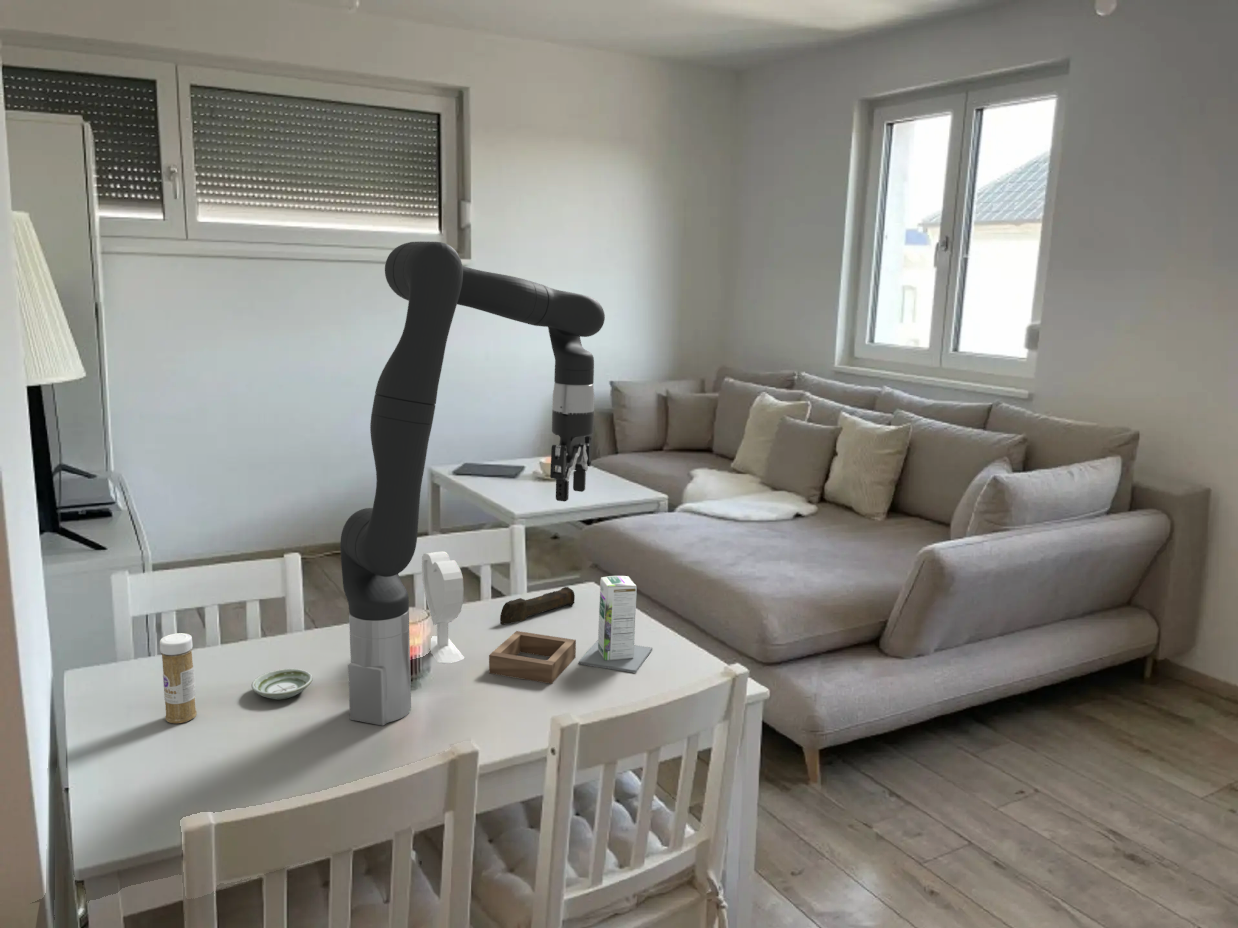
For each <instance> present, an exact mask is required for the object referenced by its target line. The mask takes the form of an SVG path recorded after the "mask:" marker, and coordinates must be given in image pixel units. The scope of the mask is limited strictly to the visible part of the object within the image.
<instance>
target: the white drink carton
mask: <svg viewBox="0 0 1238 928" xmlns="http://www.w3.org/2000/svg"><path fill="white" fill-rule="evenodd" d="M636 607H637V585H636V584H635V583H634V580H632V579H631V578H630V576H629V575H627V576H626V575H609V576H603V577H602V576H601V577H600V587H599V606H598V609H599V611H598V637H597V640H598V650H599V652H600V653H601V655H602V657H603V658H604V660H605V661H610V660H620V659H629V658H634V645H635V633H636V631H635V630H636V611H637V610H636V609H637V608H636Z"/></svg>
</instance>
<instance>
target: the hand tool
mask: <svg viewBox="0 0 1238 928" xmlns="http://www.w3.org/2000/svg"><path fill="white" fill-rule="evenodd" d="M575 597H576V596H575V591H574V590H573V589H571V588H570V587H569V586H564V587H562V588H560V589H559V590H556V591H552V592H547V593H544V594H543V595H539V596H536V597H532V598H527V599H524V598H521V597H520V598H517V599H513V600H509V601H506V602H505V603H504V605H503V607H502V609H501V612H500V616H499V624H500V625H509V624H514V623H519V622H522V621H525V620H526V619H527V618H529V617H530V616H531V617H532V616H535V615H537V614H542V613H543V612H546V611H551V610H554V609H557V608H561V607H562V608H563V607H564V606H568V604H569V606H571V605H573V606H574V604H575V599H576V598H575Z"/></svg>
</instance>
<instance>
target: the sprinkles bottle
mask: <svg viewBox="0 0 1238 928" xmlns="http://www.w3.org/2000/svg"><path fill="white" fill-rule="evenodd" d="M159 652H160V653H161V659H162V673H163V674H162V678H163V680H162V681H163V682H162V683H163V693H164V694H163V697H164V703H165V716H164V717H165V720H166V722H168V723H169V724H184V723H186V722H189V721H191V720H193V719H195V718H196V717H197V715H198V714H197V713H198V712H197V708H196V689H195V688H196V686H195V673H194V671H195V670H194V663H193V653H192V652H193V637H192V635H190V634H189V633H186V632H185V633H184V632H183V633H181V632H180V633H179V632H178V633H171V634H168V635H164V636H163V637H161V639H160V640H159Z"/></svg>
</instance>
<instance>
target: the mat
mask: <svg viewBox="0 0 1238 928" xmlns="http://www.w3.org/2000/svg"><path fill="white" fill-rule="evenodd" d="M652 651H653V647H650V646H644V645H637V644H634V658H629V659H620V660H610V661H605V660H604V658H603V657H602V655H601V653H600V652H599V650H598V639H597V640H596V641H595V642H594V643H593V644H592V645H591V647H590V648H589V649H588V650H587V651H586V652H585V654H583V656H581V658H580V659H579V660H578V665H583V666H590V667H596V668H602V669H609V670H614V671H619V672H620V671H622V672H628V673H634V674H636V673H638V671H639V670H640V668H641V667H642V665H643V664H644V663H645V662H646V659H647V658H648V657H649V655H650V654H651V652H652Z"/></svg>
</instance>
